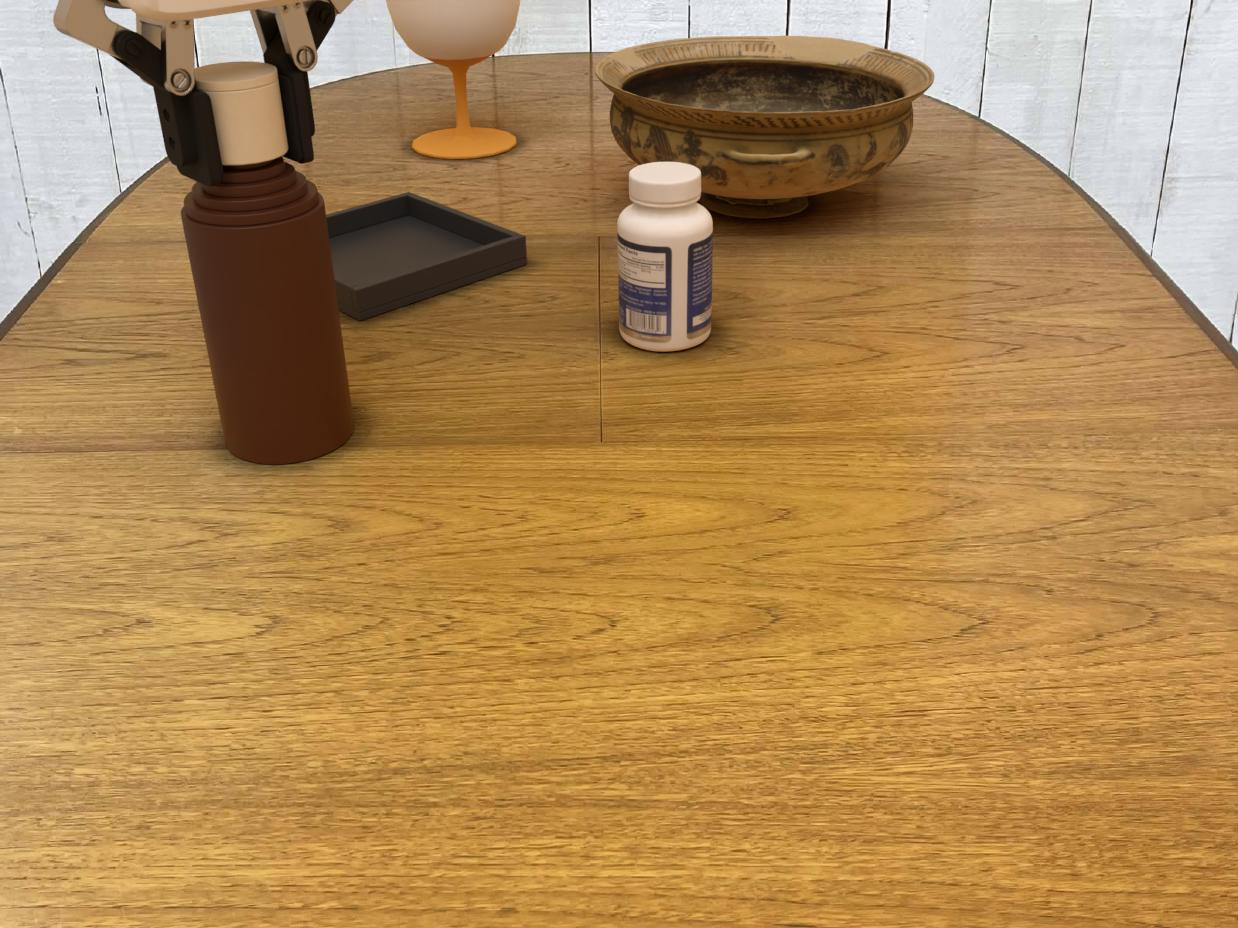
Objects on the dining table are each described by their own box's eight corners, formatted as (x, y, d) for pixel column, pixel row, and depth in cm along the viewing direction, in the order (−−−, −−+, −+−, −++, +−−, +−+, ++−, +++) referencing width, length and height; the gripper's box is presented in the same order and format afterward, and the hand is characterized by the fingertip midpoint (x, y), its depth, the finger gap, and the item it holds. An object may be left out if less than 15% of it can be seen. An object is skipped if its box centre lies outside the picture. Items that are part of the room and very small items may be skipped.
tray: (249, 264, 84) (244, 236, 83) (411, 217, 92) (408, 191, 91) (360, 321, 76) (356, 290, 75) (527, 264, 84) (526, 235, 83)
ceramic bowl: (946, 280, 80) (967, 124, 75) (575, 272, 82) (571, 120, 77) (896, 146, 106) (909, 23, 101) (615, 142, 108) (613, 22, 103)
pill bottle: (691, 311, 77) (694, 152, 72) (724, 346, 72) (730, 180, 67) (606, 323, 75) (603, 162, 70) (635, 359, 71) (634, 191, 66)
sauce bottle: (202, 432, 64) (130, 83, 55) (311, 392, 68) (260, 59, 59) (266, 478, 60) (200, 109, 51) (378, 433, 64) (335, 82, 55)
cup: (542, 127, 113) (534, -79, 104) (519, 165, 103) (508, -58, 94) (414, 124, 114) (396, -79, 105) (379, 162, 104) (355, -59, 95)
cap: (183, 153, 57) (167, 71, 55) (260, 135, 59) (248, 57, 57) (226, 171, 54) (211, 86, 52) (305, 152, 56) (293, 70, 55)
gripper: (-20, -313, 40) (105, 233, 50) (407, -308, 50) (445, 146, 59) (-97, -306, 45) (30, 191, 54) (307, -303, 55) (356, 117, 64)
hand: (246, 163), depth 57 cm, fingers closed on cap, 3 cm apart
